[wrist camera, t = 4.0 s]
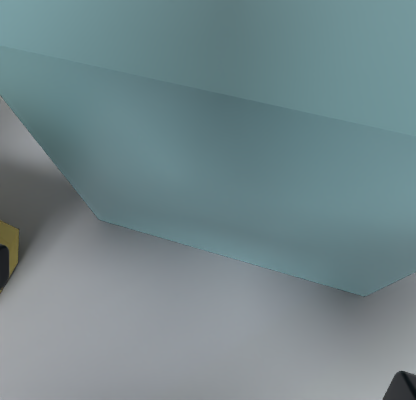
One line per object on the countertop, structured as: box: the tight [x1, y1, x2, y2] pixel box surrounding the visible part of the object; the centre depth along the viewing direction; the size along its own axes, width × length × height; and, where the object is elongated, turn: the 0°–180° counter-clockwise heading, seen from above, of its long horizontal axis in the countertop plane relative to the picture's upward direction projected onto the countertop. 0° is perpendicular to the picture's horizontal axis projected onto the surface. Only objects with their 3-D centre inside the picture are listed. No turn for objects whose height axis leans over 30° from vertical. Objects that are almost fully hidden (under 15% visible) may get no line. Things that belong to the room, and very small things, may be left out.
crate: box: [0, 0, 416, 297], centre depth 13 cm, size 9×12×10 cm
